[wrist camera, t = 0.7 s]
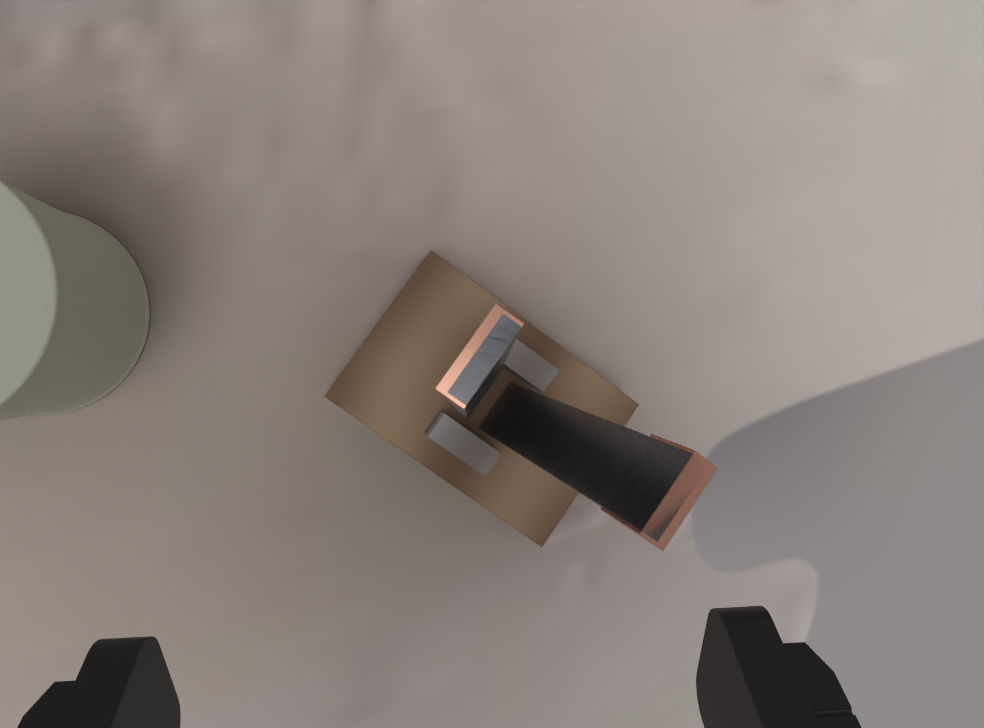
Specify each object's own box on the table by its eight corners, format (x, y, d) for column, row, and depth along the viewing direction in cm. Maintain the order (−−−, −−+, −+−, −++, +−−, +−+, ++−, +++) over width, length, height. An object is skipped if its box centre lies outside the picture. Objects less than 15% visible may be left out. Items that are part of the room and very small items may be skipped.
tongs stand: (326, 393, 38) (322, 398, 33) (425, 258, 39) (435, 243, 34) (527, 533, 40) (552, 558, 35) (617, 401, 40) (654, 407, 35)
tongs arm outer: (477, 430, 35) (639, 534, 21) (511, 380, 36) (695, 450, 22) (492, 440, 36) (662, 550, 22) (526, 391, 36) (717, 468, 22)
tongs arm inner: (449, 410, 35) (435, 388, 20) (484, 361, 36) (495, 304, 21) (466, 422, 35) (464, 408, 20) (500, 372, 36) (523, 323, 21)
